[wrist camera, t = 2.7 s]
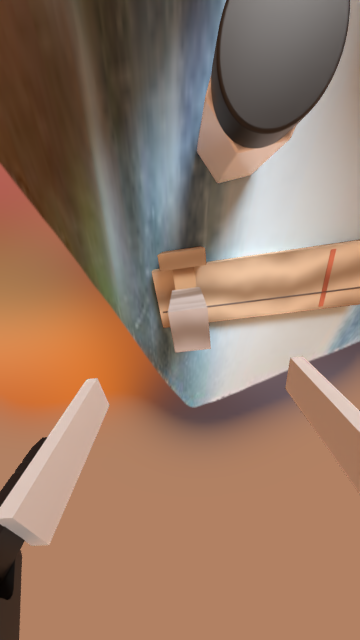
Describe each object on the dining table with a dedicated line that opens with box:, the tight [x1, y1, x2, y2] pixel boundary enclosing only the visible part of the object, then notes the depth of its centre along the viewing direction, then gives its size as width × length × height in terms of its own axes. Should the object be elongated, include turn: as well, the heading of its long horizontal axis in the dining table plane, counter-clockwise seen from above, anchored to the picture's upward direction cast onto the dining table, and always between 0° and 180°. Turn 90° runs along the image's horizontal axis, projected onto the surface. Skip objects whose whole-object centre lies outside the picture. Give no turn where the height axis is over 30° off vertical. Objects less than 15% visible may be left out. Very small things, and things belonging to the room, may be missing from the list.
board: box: [152, 240, 360, 328], centre depth 28 cm, size 10×34×2 cm, turn 98°
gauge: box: [158, 246, 211, 352], centre depth 24 cm, size 14×6×13 cm, turn 8°
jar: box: [197, 0, 350, 183], centre depth 16 cm, size 9×8×12 cm
